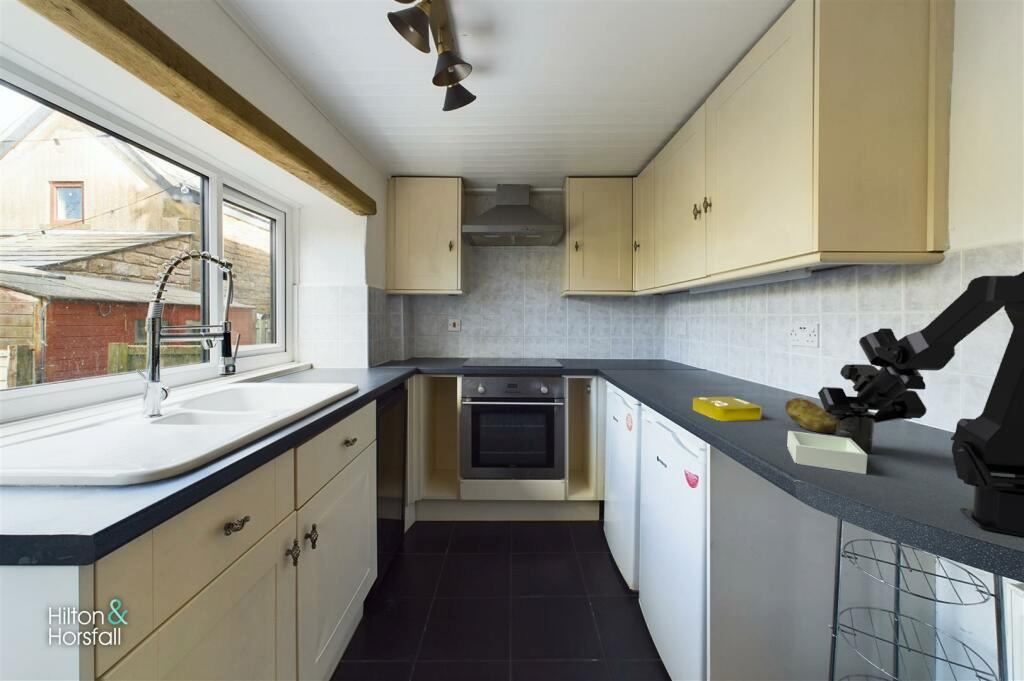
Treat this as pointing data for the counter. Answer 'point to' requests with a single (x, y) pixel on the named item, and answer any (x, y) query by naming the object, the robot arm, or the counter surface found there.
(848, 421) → the supplement bottle
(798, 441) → the sage tray
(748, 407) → the element tile
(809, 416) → the potato
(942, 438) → the counter surface
